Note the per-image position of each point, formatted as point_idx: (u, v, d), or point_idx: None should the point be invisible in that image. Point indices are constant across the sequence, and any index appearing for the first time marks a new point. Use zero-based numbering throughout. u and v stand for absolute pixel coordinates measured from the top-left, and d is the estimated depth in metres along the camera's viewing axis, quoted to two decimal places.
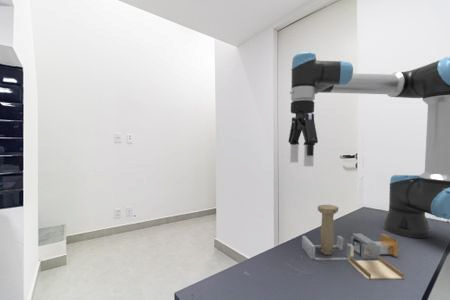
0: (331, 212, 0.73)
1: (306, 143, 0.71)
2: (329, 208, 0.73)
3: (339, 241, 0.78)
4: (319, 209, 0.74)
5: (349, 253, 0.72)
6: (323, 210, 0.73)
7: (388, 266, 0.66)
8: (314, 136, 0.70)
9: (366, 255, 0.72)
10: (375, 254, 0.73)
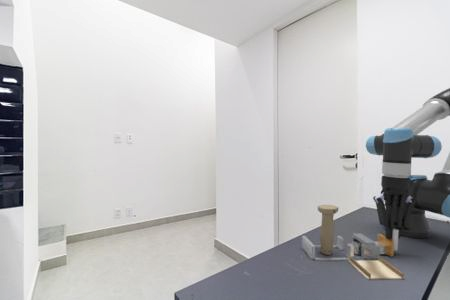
0: (331, 212, 0.73)
1: None
2: (329, 208, 0.73)
3: (339, 241, 0.78)
4: (319, 209, 0.74)
5: (349, 253, 0.72)
6: (323, 210, 0.73)
7: (388, 266, 0.66)
8: (382, 221, 0.75)
9: (366, 255, 0.72)
10: (375, 254, 0.73)
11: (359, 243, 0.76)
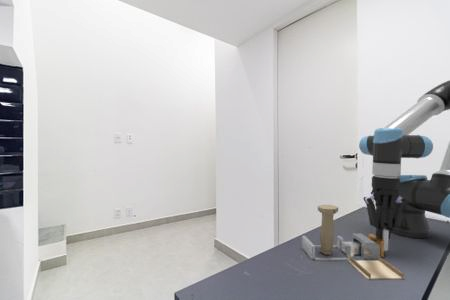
0: (331, 212, 0.73)
1: None
2: (329, 208, 0.73)
3: (339, 241, 0.78)
4: (319, 209, 0.74)
5: (349, 253, 0.72)
6: (323, 210, 0.73)
7: (388, 266, 0.66)
8: (372, 222, 0.75)
9: (366, 255, 0.72)
10: (375, 254, 0.73)
11: (349, 243, 0.76)
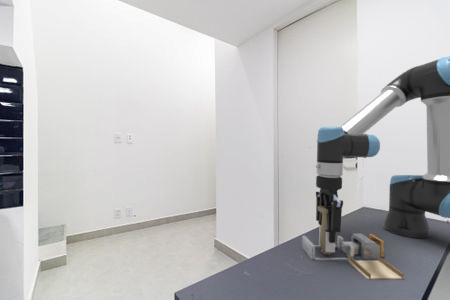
0: None
1: (328, 231, 0.72)
2: None
3: (339, 241, 0.78)
4: (319, 209, 0.74)
5: (349, 253, 0.72)
6: (323, 210, 0.73)
7: (388, 266, 0.66)
8: (338, 226, 0.70)
9: (366, 255, 0.72)
10: (375, 254, 0.73)
11: (349, 243, 0.76)
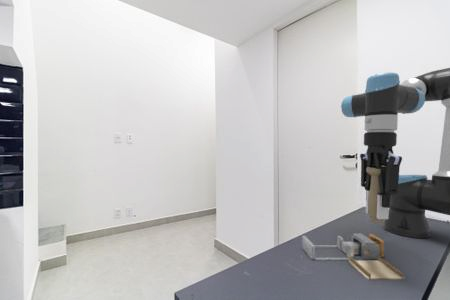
0: None
1: (381, 194, 0.62)
2: None
3: (339, 241, 0.78)
4: (369, 170, 0.64)
5: (349, 253, 0.72)
6: (374, 170, 0.63)
7: (388, 266, 0.66)
8: (395, 187, 0.60)
9: (366, 255, 0.72)
10: (375, 254, 0.73)
11: (349, 243, 0.76)
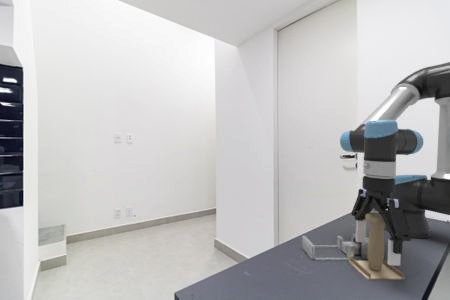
0: (383, 222, 0.63)
1: (393, 239, 0.57)
2: (380, 217, 0.64)
3: (339, 241, 0.78)
4: (368, 218, 0.64)
5: (349, 253, 0.72)
6: (373, 220, 0.63)
7: (388, 266, 0.66)
8: (405, 232, 0.56)
9: (366, 255, 0.72)
10: None
11: (349, 243, 0.76)
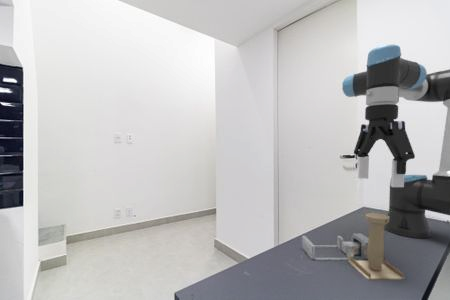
0: (383, 222, 0.63)
1: (397, 159, 0.57)
2: (380, 217, 0.64)
3: (339, 241, 0.78)
4: (368, 218, 0.65)
5: (349, 253, 0.72)
6: (373, 220, 0.63)
7: (388, 266, 0.66)
8: (409, 150, 0.56)
9: (366, 255, 0.72)
10: None
11: (349, 243, 0.76)
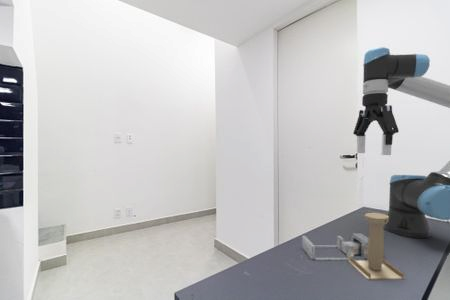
0: (382, 222, 0.63)
1: (386, 133, 0.76)
2: (379, 217, 0.64)
3: (339, 241, 0.78)
4: (367, 218, 0.65)
5: (349, 253, 0.72)
6: (373, 220, 0.63)
7: (388, 266, 0.66)
8: (395, 126, 0.74)
9: (366, 255, 0.72)
10: None
11: (349, 243, 0.76)
